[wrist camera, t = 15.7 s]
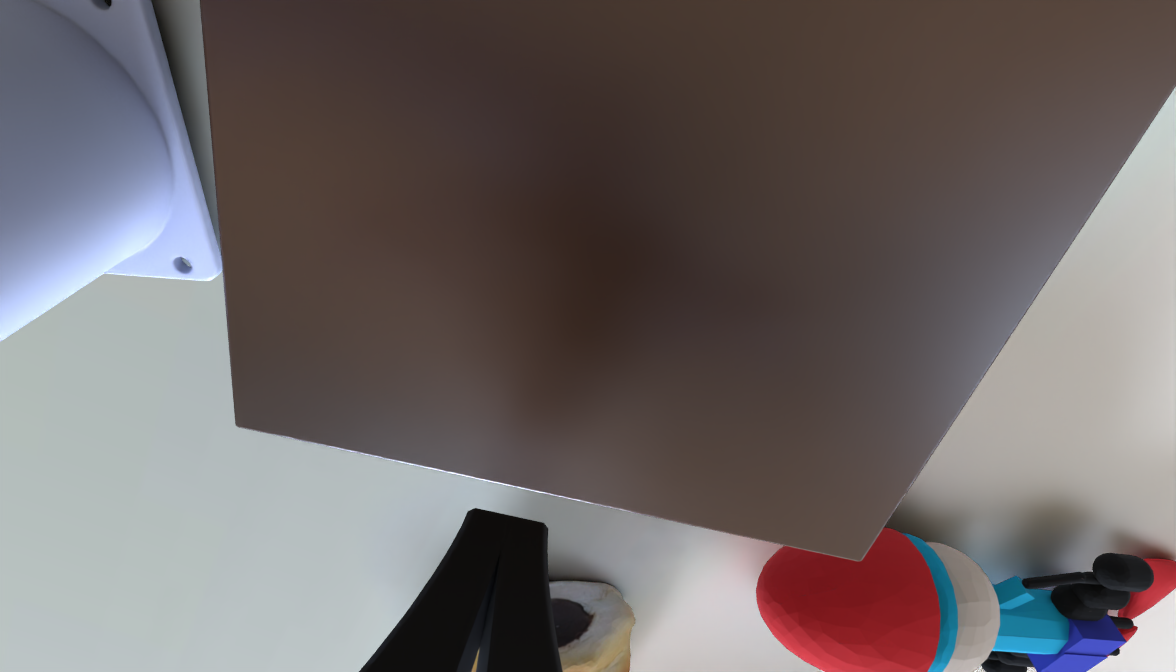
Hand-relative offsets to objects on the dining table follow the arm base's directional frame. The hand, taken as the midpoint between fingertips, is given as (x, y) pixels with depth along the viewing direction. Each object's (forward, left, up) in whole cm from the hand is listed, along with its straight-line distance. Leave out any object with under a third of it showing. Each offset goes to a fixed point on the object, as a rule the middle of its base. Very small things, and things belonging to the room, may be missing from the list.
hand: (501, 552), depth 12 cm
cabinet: (+2, +7, -9) cm, 12 cm away
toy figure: (+14, -10, -10) cm, 20 cm away
